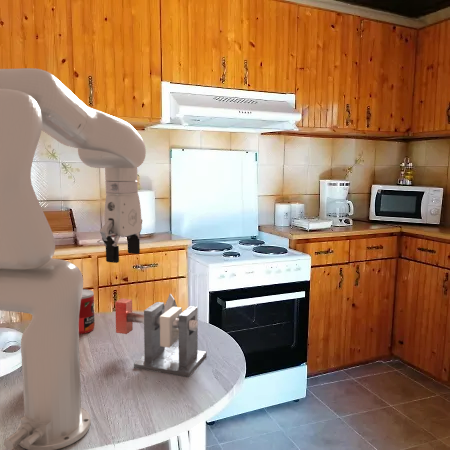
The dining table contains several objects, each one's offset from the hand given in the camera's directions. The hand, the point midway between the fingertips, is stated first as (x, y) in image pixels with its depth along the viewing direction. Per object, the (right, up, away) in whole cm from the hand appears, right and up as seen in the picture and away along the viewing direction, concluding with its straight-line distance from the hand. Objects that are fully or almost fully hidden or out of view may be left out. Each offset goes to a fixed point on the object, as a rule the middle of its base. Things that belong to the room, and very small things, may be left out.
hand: (123, 257), depth 106 cm
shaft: (+8, -19, 0) cm, 21 cm away
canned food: (-17, -23, +19) cm, 34 cm away
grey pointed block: (+10, -23, +20) cm, 32 cm away
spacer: (+12, -17, -2) cm, 21 cm away
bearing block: (+12, -25, 0) cm, 28 cm away
